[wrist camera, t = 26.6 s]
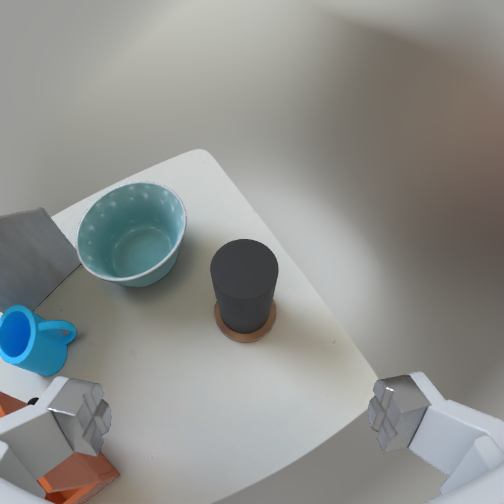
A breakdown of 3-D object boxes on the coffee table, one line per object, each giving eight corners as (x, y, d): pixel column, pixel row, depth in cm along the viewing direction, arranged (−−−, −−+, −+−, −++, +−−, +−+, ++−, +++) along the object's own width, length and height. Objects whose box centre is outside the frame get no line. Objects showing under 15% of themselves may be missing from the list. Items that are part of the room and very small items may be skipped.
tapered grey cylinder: (260, 282, 41) (266, 232, 30) (275, 325, 38) (288, 288, 27) (214, 294, 40) (203, 247, 29) (227, 339, 37) (219, 307, 26)
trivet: (287, 311, 40) (288, 309, 39) (247, 354, 37) (247, 353, 36) (243, 275, 42) (243, 272, 41) (202, 314, 39) (201, 312, 38)
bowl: (196, 211, 48) (189, 175, 41) (194, 304, 40) (182, 278, 33) (108, 218, 47) (90, 186, 40) (91, 305, 39) (64, 281, 32)
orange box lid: (47, 493, 12) (79, 469, 14) (-13, 391, 15) (14, 367, 18) (97, 483, 22) (121, 465, 24) (46, 415, 25) (68, 397, 27)
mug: (33, 381, 32) (-2, 370, 25) (25, 332, 36) (-7, 314, 29) (93, 361, 35) (63, 347, 28) (81, 309, 39) (53, 287, 32)
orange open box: (74, 510, 23) (53, 518, 18) (32, 455, 26) (8, 455, 21) (120, 474, 27) (101, 481, 22) (73, 416, 31) (50, 414, 26)
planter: (65, 233, 45) (11, 155, 29) (85, 260, 43) (23, 179, 26) (6, 293, 39) (-63, 233, 22) (20, 325, 36) (-60, 269, 20)
